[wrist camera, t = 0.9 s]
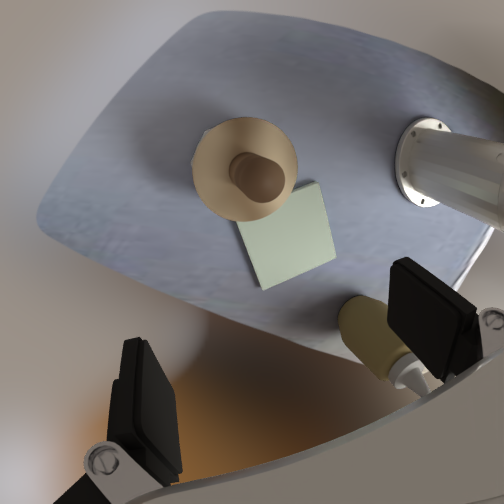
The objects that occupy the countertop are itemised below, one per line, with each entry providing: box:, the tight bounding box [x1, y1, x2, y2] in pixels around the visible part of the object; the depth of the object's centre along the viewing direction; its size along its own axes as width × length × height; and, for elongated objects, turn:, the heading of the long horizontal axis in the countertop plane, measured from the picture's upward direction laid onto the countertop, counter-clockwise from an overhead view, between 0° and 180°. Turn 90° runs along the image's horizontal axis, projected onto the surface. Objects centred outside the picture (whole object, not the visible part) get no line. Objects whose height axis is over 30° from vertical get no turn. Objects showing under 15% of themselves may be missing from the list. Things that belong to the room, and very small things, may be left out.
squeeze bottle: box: [338, 296, 431, 397], centre depth 36 cm, size 8×8×18 cm
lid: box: [192, 117, 298, 222], centre depth 24 cm, size 9×9×6 cm
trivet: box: [236, 181, 336, 290], centre depth 36 cm, size 10×10×1 cm
